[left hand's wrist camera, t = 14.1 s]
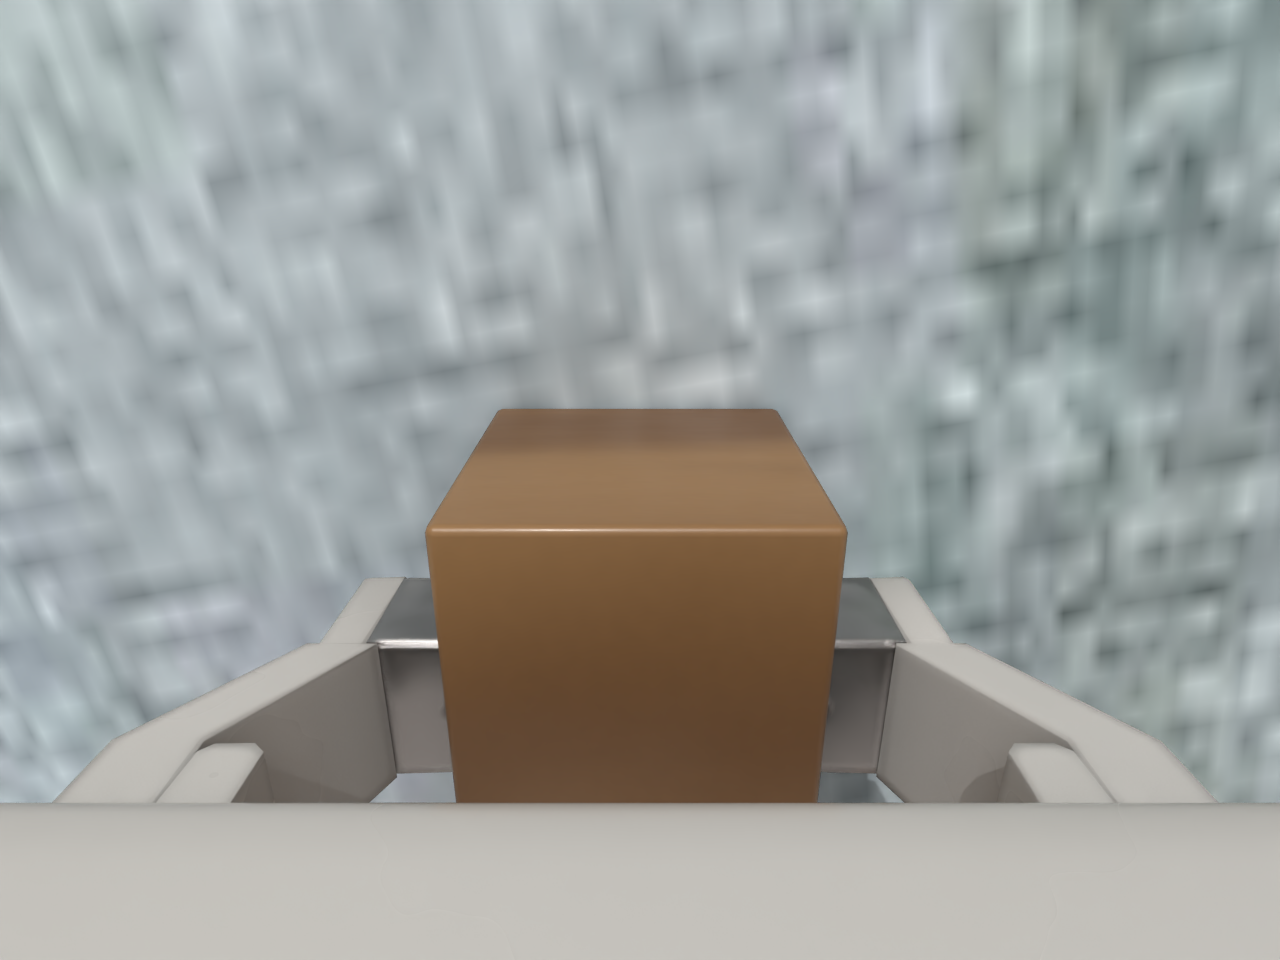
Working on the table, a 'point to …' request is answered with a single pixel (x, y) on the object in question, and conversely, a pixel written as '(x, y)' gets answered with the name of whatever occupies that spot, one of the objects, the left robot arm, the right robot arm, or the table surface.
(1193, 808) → the left robot arm
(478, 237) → the table surface
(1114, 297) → the table surface
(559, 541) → the block
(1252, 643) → the table surface
